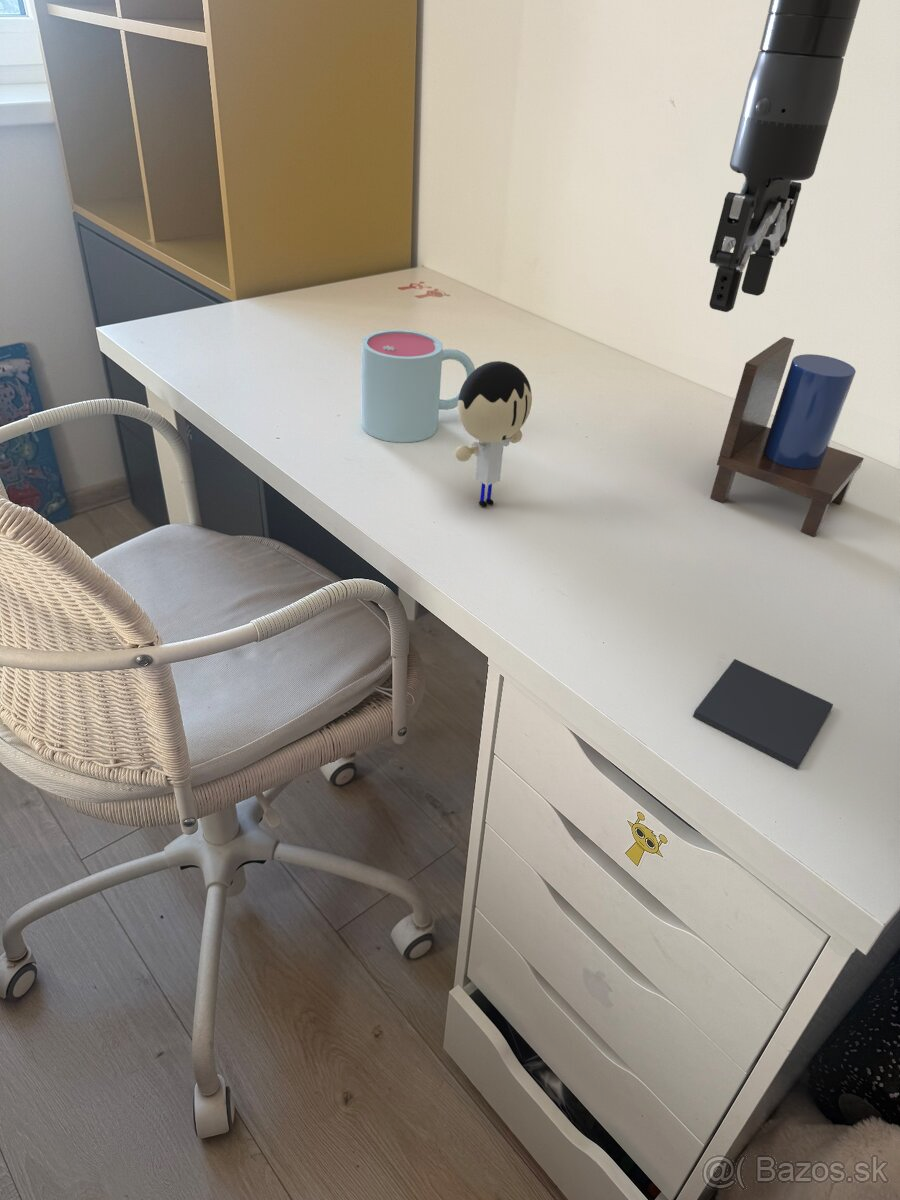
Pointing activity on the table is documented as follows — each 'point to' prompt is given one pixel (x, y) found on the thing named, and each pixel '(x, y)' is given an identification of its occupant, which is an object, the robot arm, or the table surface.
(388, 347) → the mug
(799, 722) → the mat
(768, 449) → the canister
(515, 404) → the toy
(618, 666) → the table surface
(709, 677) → the table surface
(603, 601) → the table surface
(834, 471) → the miniature wooden chair
